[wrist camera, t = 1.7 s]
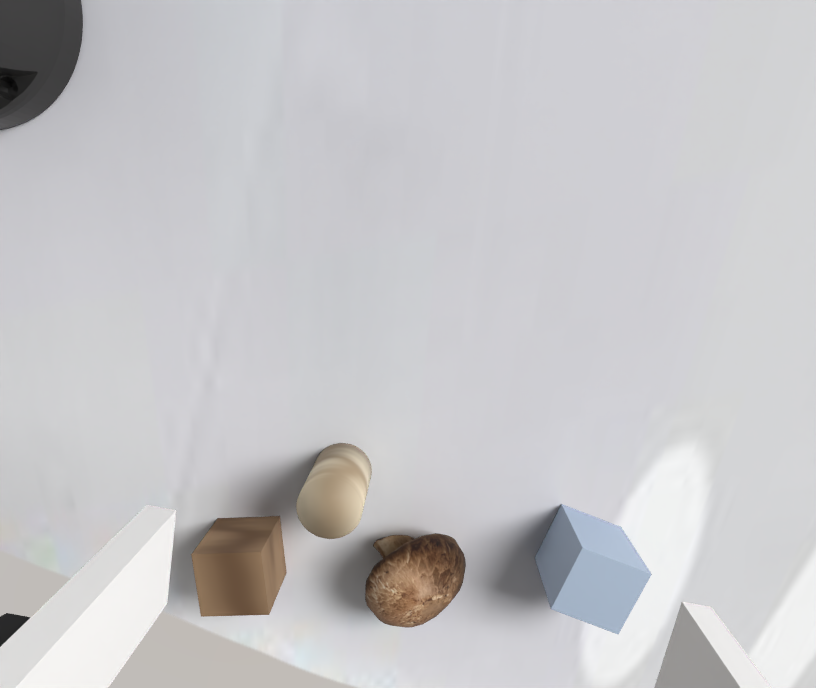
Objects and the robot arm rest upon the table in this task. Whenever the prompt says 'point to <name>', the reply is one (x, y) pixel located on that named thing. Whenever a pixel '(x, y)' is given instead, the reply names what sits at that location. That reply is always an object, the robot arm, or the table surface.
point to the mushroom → (414, 578)
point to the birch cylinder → (335, 491)
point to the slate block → (590, 569)
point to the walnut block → (239, 566)
